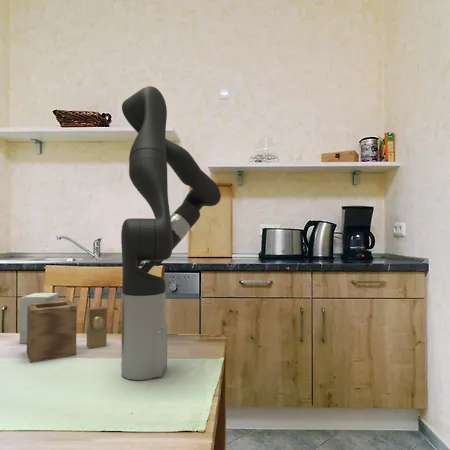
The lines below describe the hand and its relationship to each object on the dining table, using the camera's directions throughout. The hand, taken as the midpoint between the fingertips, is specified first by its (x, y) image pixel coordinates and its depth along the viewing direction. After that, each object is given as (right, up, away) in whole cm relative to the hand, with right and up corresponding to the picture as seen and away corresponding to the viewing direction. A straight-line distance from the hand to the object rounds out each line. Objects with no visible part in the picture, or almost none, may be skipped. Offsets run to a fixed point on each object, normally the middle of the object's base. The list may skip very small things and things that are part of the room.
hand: (134, 272), depth 103 cm
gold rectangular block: (-8, -19, -6) cm, 21 cm away
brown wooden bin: (-18, -18, -12) cm, 28 cm away
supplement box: (-26, -19, -1) cm, 32 cm away
